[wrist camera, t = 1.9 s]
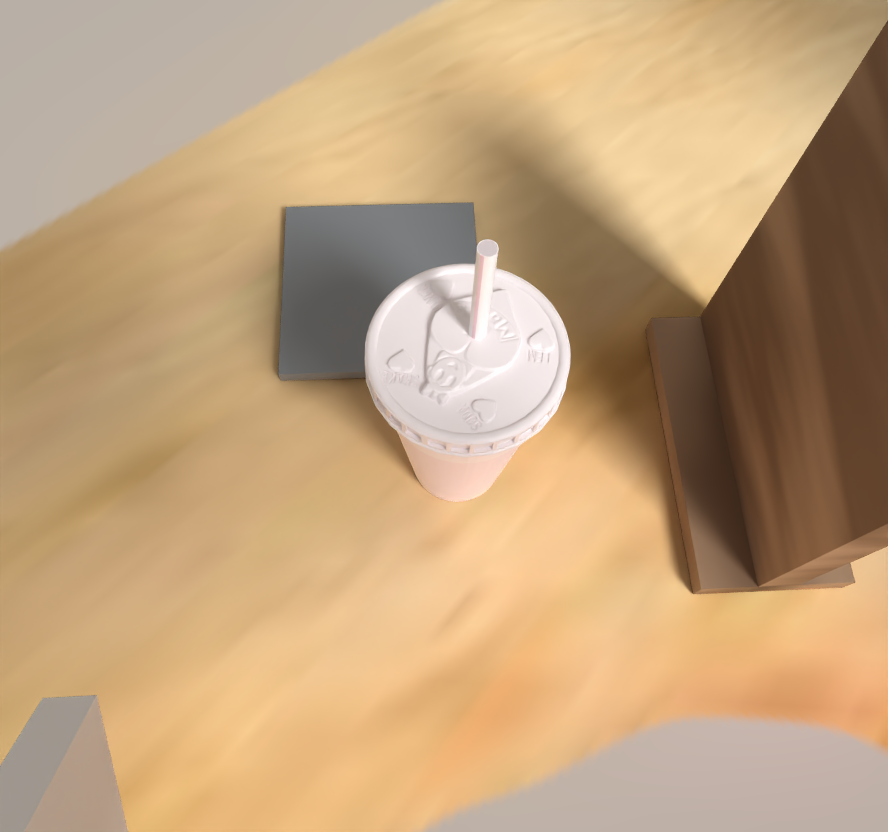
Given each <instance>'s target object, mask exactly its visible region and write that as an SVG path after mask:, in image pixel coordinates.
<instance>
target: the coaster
mask: <svg viewBox="0 0 888 832" xmlns="http://www.w3.org/2000/svg"><path fill="white" fill-rule="evenodd" d="M476 252H477V244H476V231H475V219H474V206H473V203H435V204H394V205H352V206H311V207H286V220H285V242H284V263H283V285H282V307H281V328H280V350H279V371H278V375H279V377H280V380H281V381H285V380H315V379H345V378H366V373H365V342H366V336H367V332H368V329H369V325H370V323H371V320H372V318H373V316H374V314H375V312H376V310H377V309H378V307H379V306H380V304H381V303H382V302H383V301H384V299H385V298H386V297H387V296H388V295H389V294H390V293H391V292H392V291H393V290H394V289H395V288H396V287H398V286H399V285H400V284H402V283H403V282H405V281H406V280H408V279H409V278H411V277H413V276H415V275H417V274H419V273H421V272H424V271H426V270H429V269H432V268H436V267H440V266H445V265H452V264H475V262H476Z"/></svg>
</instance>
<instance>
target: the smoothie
mask: <svg viewBox="0 0 888 832" xmlns="http://www.w3.org/2000/svg"><path fill="white" fill-rule="evenodd" d="M498 250H499V247H498V245H497V243H496V242H494V241H493V240H489V239H486V240H482V241H480V242H479V243H478V245H477V252H476V262H475V264H452V265H445V266H440V267H436V268H432V269H429V270H426V271H424V272H421V273H419V274H417V275H415V276H413V277H411V278H409V279H408V280H406V281H405V282H403V283H402V284H400V285H399V286H398V287H396V288H395V289H394V290H393V291H392V292H391V293H390V294H389V295H388V296H387V297H386V298H385V299H384V301H383V302H382V303H381V304H380V306H379V307H378V309H377V310H376V312H375V314H374V316H373V318H372V320H371V323H370V325H369V329H368V332H367V336H366V342H365V373H366V383H367V386H368V388H369V391H370V394H371V396H372V399H373V402H374V404H375V406H376V408H377V409H378V410H379V412H380V413H381V414H382V415H383V417H384V418H385V419H386V421H387V422H388V423H389V425H390V426H391V427H392V428H394V429H395V430H396V431H397V433H398V435H399V437H400V440H401V442H402V444H403V447H404V449H405V451H406V453H407V456H408V458H409V460H410V463H411V465H412V467H413V470H414V472H415V474H416V477H417V479H418V480H419V482H420V483H421V485H422V486H423V487H424V488H425V489H426V490H427V491H428V492H429V493H431V494H432V495H434V496H436V497H438V498H440V499H443V500H447V501H453V502H461V501H468V500H471V499H474V498H476V497H478V496H480V495H482V494H483V493H484V492H486V491H487V490H488V489H489V488H490V487H491V486H492V484H493V483H494V482H495V480H496V479H497V477H498V476H499V474H500V473H501V472H502V470H503V469H504V467H505V466H506V464H507V463H508V462H509V460H510V459H511V457H512V456H513V455H514V453H515V452H516V450H517V449H518V447H519V446H520V445H521V444H522V443H523V442H525V441H526V440H528V439H529V438H531V437H532V436H533V435H535V434H536V433H538V432H539V431H540V430H541V429H542V428H543V427H544V426H545V424H546V423H547V422H548V421H549V420H550V418H551V417H552V416H553V415H554V413H555V412H556V411H557V409H558V406H559V404H560V401H561V399H562V397H563V394H564V392H565V390H566V382H567V378H568V374H569V369H570V357H571V354H570V344H569V338H568V335H567V331H566V328H565V326H564V323H563V321H562V319H561V317H560V315H559V314H558V312H557V311H556V309H555V308H554V306H553V305H552V304H551V302H550V301H549V300H548V299H547V298H546V297H545V296H544V295H543V294H542V293H541V292H540V291H539V290H538V289H537V288H535V287H534V286H533V285H531V284H530V283H528V282H527V281H525V280H524V279H522V278H520V277H518V276H516V275H514V274H512V273H510V272H507V271H504V270H502V269H498V268H496V264H497V257H498Z"/></svg>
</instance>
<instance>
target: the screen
mask: <svg viewBox="0 0 888 832" xmlns="http://www.w3.org/2000/svg"><path fill="white" fill-rule="evenodd" d="M646 335H647V341H648V346H649V352H650V357H651V363H652V369H653V374H654V380H655V385H656V391H657V396H658V402H659V408H660V413H661V419H662V424H663V430H664V435H665V441H666V447H667V452H668V458H669V463H670V469H671V474H672V480H673V486H674V491H675V497H676V502H677V508H678V513H679V519H680V525H681V530H682V536H683V541H684V547H685V552H686V558H687V564H688V569H689V575H690V580H691V586H692V591H693V594H708V593H731V592H753V591H775V590H798V589H820V588H842V587H845V586H847V585H850V584H853V583H855V579H854V576H853V572H852V568H851V564H850V562H853V561H855V560H857V559H859V558H862V557H864V556H866V555H869V554H871V553H873V552H875V551H878V550H880V549H882V548H885V547H887V546H888V21H887V23H886V24H885V26H884V27H883V29H882V30H881V32H880V34H879V35H878V37H877V38H876V40H875V42H874V43H873V45H872V46H871V48H870V49H869V51H868V53H867V54H866V56H865V57H864V59H863V60H862V62H861V64H860V65H859V67H858V68H857V70H856V71H855V73H854V75H853V76H852V78H851V79H850V81H849V83H848V84H847V86H846V87H845V89H844V90H843V92H842V94H841V95H840V97H839V98H838V100H837V101H836V103H835V105H834V106H833V108H832V109H831V111H830V113H829V114H828V116H827V117H826V119H825V120H824V122H823V124H822V125H821V127H820V128H819V130H818V131H817V133H816V135H815V136H814V138H813V139H812V141H811V143H810V144H809V146H808V147H807V149H806V150H805V152H804V154H803V155H802V157H801V158H800V160H799V161H798V163H797V165H796V166H795V168H794V169H793V171H792V172H791V174H790V176H789V177H788V179H787V180H786V182H785V184H784V185H783V187H782V188H781V190H780V191H779V193H778V195H777V196H776V198H775V199H774V201H773V202H772V204H771V206H770V207H769V209H768V210H767V212H766V214H765V215H764V217H763V218H762V220H761V221H760V223H759V225H758V226H757V228H756V229H755V231H754V232H753V234H752V236H751V237H750V239H749V240H748V242H747V243H746V245H745V247H744V248H743V250H742V251H741V253H740V255H739V256H738V258H737V259H736V261H735V262H734V264H733V266H732V267H731V269H730V270H729V272H728V273H727V275H726V277H725V278H724V280H723V281H722V283H721V285H720V286H719V288H718V289H717V291H716V292H715V294H714V296H713V297H712V299H711V300H710V302H709V303H708V305H707V307H706V308H705V310H704V311H703V313H702V315H701V316H700V317H673V318H651V320H650V322H649V324H648V326H647V328H646Z"/></svg>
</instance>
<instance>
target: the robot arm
mask: <svg viewBox="0 0 888 832" xmlns="http://www.w3.org/2000/svg"><path fill="white" fill-rule="evenodd" d="M0 832H128V829H127V825H126V821H125V816H124V812H123V808H122V803H121V799H120V794H119V790H118V786H117V781H116V777H115V773H114V768H113V764H112V760H111V755H110V751H109V747H108V742H107V738H106V734H105V729H104V725H103V720H102V716H101V712H100V707H99V703H98V699H97V695H92V696H73V697H55V698H42V700H41V701H40V703H39V705H38V706H37V708H36V710H35V711H34V713H33V714H32V716H31V718H30V719H29V721H28V722H27V724H26V726H25V727H24V729H23V730H22V732H21V734H20V735H19V737H18V738H17V740H16V742H15V743H14V745H13V746H12V748H11V750H10V751H9V753H8V754H7V756H6V758H5V759H4V761H3V762H2V764H1V766H0Z"/></svg>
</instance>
